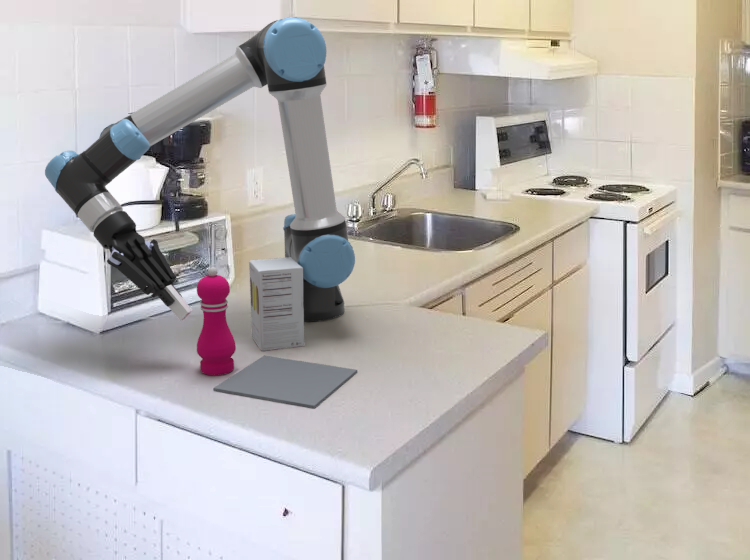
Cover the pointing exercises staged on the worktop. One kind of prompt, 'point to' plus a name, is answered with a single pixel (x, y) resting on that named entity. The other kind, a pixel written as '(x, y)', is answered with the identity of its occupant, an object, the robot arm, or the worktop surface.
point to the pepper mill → (215, 326)
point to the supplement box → (276, 303)
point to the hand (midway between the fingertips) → (186, 315)
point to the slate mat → (287, 381)
